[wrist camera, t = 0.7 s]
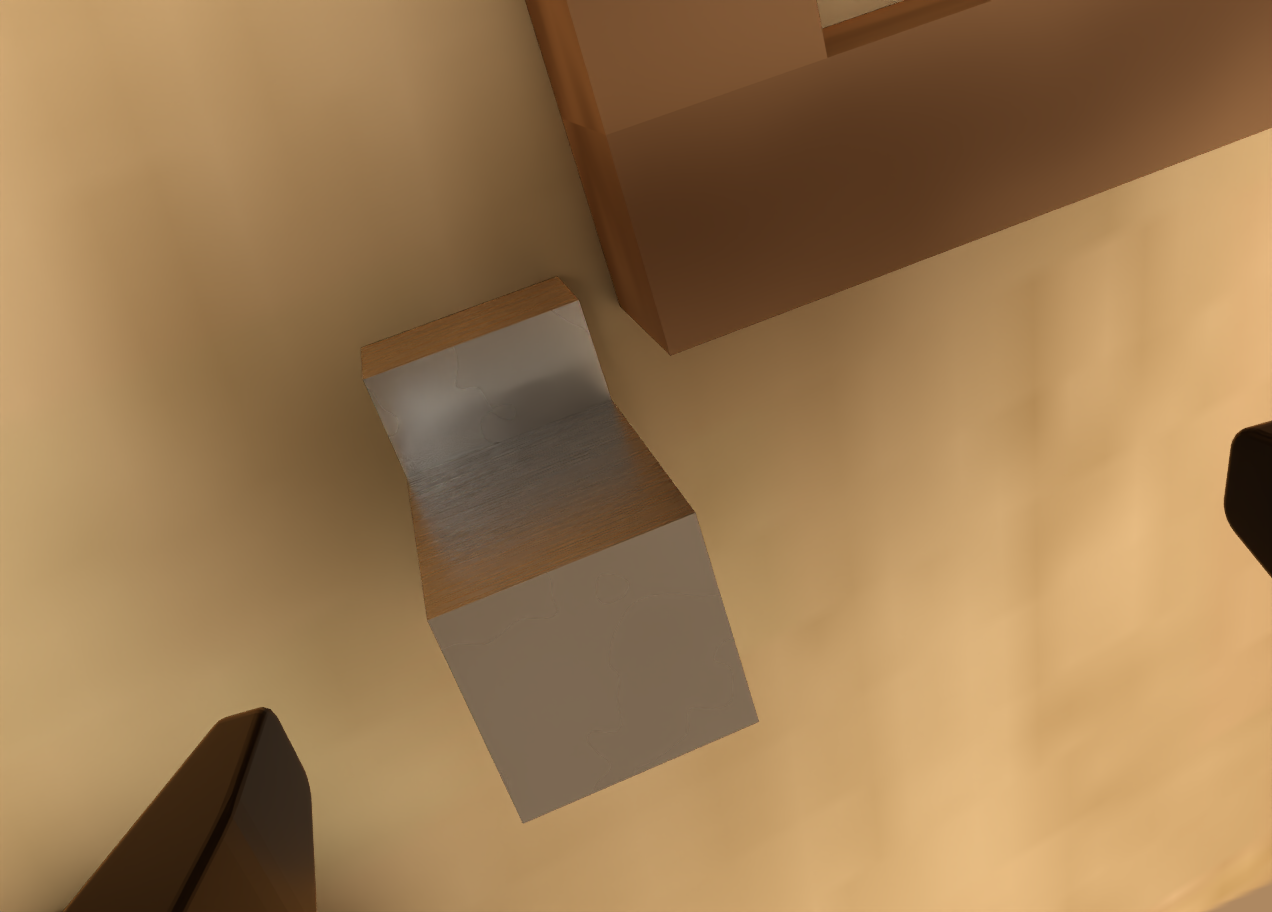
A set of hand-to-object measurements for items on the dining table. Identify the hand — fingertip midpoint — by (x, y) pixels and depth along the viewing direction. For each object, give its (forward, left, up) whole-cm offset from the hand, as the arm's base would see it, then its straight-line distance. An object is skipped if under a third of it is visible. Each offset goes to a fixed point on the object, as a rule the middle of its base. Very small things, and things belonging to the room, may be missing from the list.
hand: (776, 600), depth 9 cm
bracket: (-4, +2, -12) cm, 13 cm away
